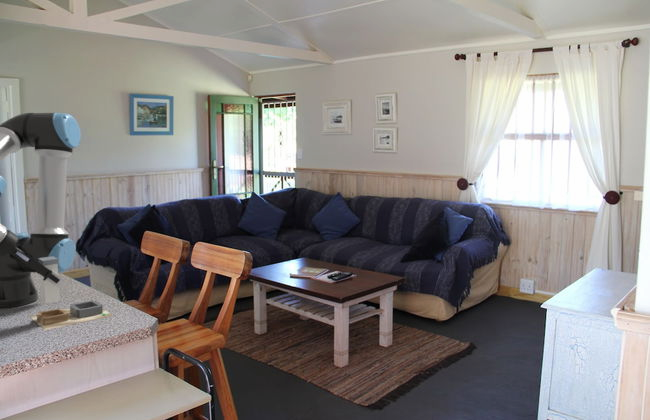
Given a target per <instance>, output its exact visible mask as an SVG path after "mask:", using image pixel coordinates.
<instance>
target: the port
mask: <svg viewBox="0 0 650 420" xmlns="http://www.w3.org/2000/svg"><path fill="white" fill-rule="evenodd" d="M69 309H70V313H71V314H72V315H73V316H75V317H76V318H78V317H79V318H84V317H89V316H94V315H99V314H102V313H103V309H104V308H103V304H102V303H100V302H98V301H97V300H93V299H92V300H87V301H81V302H77V303H76V302H75V303H71V304H70V305H69ZM103 315H106V313H103Z"/></svg>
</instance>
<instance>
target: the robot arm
mask: <svg viewBox="0 0 650 420" xmlns="http://www.w3.org/2000/svg"><path fill="white" fill-rule="evenodd" d="M81 135H82V134H81V129H80V126H79V123H78V121H77V120H76V118H75V117H73V116H72V114H69V113H63V112H62V113H61V112H26V113H21V114H18V115H15V116H13V117H11V118H8V119H6V120H5V121H4V122H2V123H1V124H0V163H1V162H2V161H3V160H4V159H6V157H8V156H9V155H10V154H14V153H17V152H18V151H20V150H21V149H24V148H25V149H26V148H34V152H35V153H36V154H37V156H38V176H37V178H38V179H37V180H38V181H37V195H36V197H37V200H36V214H35V215H36V218H35V228H34V229H33V230H32V231H31V232H30V235H29V233H28V232H16V233H14V232H13V231H11V230H9V229H7V227H6V226H5V225H4V224H2V223H0V308H13V307H20V306H25V305H29V304H32V303H34V302H36V301H37V300H39V293H38V290H37V287H36V285H35V283H34V281H33V279H32V273H36V274H37V275H39V276H40V275H42V276H43V277H44V279H43V280H44V281H45V280H46V279H47V280H48V281H49V282H51V283H52V284H54V285H55V286H57V287H58V288H59V290H61V291H62V292H64V291H65V290H66V288H67V287H68V286H69V285H70V283H69V282H68V281H66V280H65V279H64V278H62V277H61V276H59V274H63V273H64V272H66V271H68V269H70V267H71V266H72V264H73V262H74V260H75V256H76V245H75V242H74V241H73V240H72V239H71V238H69V236H70V235H69V234H70V233H69V232H68V231H67V230H66V229H65V215H66V195H67V173H68V159H69V158H70V157H71V156H72V155H73V151H74V149H75V148H78V147H79V145H80V143H81V139H82V138H81V137H82V136H81ZM7 186H8V185H7V181H6V180H5V178H4V177H3V176H2V175H1V174H0V198H2V196H3V194H4V192H5V191H6V189H7ZM51 256H54V257H55V258H57V259H58V275H56V274H55V273H54V272H52V271H51V270H49V269H48V268H46V267H45V266H43V265H42V264H41V263H39V262H38V258H44V257H51Z"/></svg>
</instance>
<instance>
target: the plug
mask: <svg viewBox="0 0 650 420" xmlns="http://www.w3.org/2000/svg"><path fill="white" fill-rule="evenodd" d="M38 262H39V263H41V264H42V265H43V266H45V267H46V268H48V269H49V270H51V271H52V272H54V273H55V274H56V275H58V276H59V273H58V259H57V258H55V257H54V256H51V257H44V258H38ZM43 279H44V277H43V276H42V275H40V274H39V281H40V283H39V284H40V296H41V301H42V303H44V304H49V303H55V302H60V301H61V296H60V295H61V293H60V289H59V288H58V287H57V286H55V285H54V284H52V283H51V282H49V281H48V280H47V279H46V280H45V281H44V280H43Z"/></svg>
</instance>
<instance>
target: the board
mask: <svg viewBox="0 0 650 420" xmlns="http://www.w3.org/2000/svg"><path fill="white" fill-rule="evenodd" d="M63 310H65V311H66V312H68V317H69V319H68V321H63V322H59V323H54V324H49V325H42V324H41V323H40V322H39V321H38V320H37V314H34V315H29V318H30V319H31V320H33V322H35V323H36V324H37V325H38V326H39V327H40V328H42V329H43V330H44V331H48V330H53V329H57V328H63V327H67V326H72V325H77V324H80V323H87V322H91V321H96V320H100V319H104V318H110V317H114V316H115V315H114V314H112V313H110V312H109V311H107V310H105V309H104V308H103V313H106V315H103V313H102V314H99V315H94V316H89V317H84V318H79V317H78V318H76V317H75V316H73V315H72V314H71V313H70V308H66V309H63Z"/></svg>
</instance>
